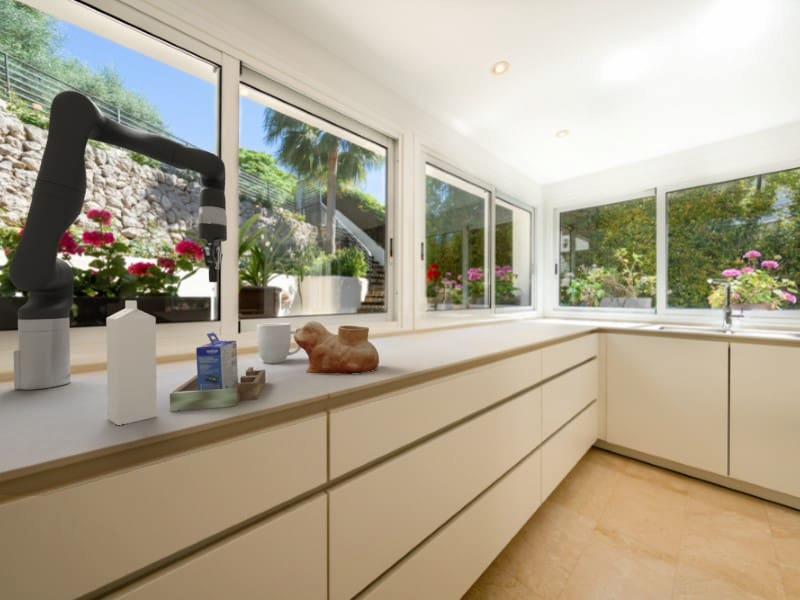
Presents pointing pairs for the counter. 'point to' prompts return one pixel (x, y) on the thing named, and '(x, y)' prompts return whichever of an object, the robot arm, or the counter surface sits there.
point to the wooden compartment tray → (217, 393)
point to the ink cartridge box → (217, 364)
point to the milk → (131, 365)
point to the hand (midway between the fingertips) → (213, 282)
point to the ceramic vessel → (337, 349)
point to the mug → (274, 342)
